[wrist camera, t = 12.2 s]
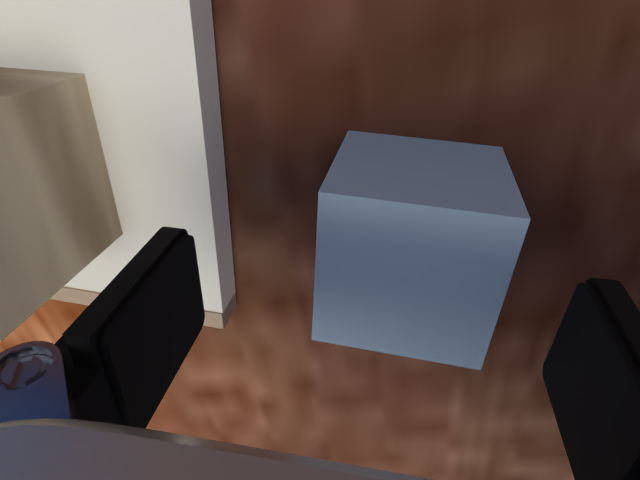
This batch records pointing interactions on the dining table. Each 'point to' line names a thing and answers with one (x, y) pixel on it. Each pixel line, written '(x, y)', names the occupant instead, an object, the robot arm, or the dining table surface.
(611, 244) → the dining table surface
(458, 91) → the dining table surface
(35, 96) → the maple cube
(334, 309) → the blue cube
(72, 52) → the base board
